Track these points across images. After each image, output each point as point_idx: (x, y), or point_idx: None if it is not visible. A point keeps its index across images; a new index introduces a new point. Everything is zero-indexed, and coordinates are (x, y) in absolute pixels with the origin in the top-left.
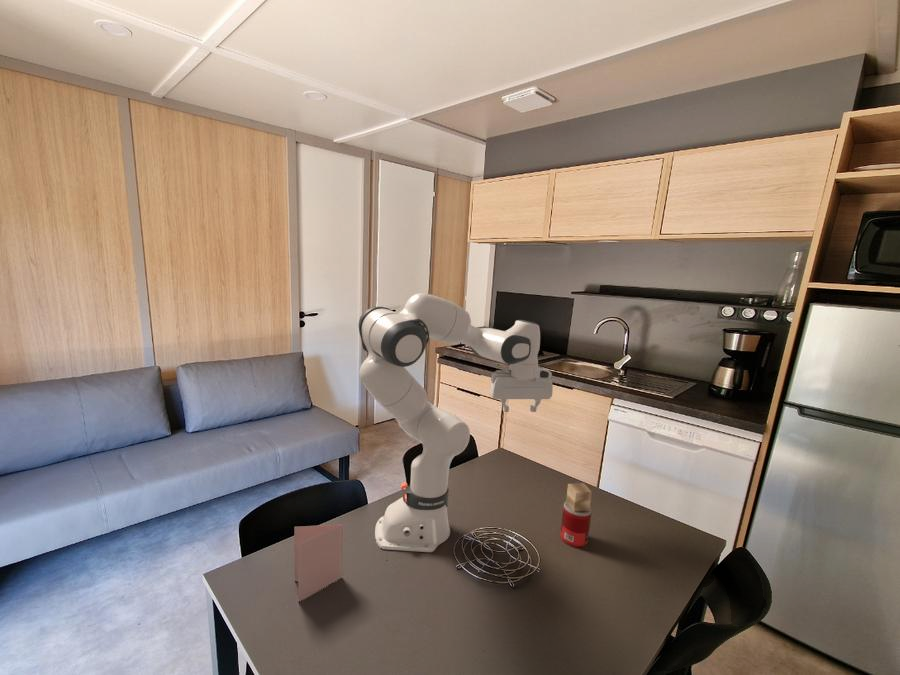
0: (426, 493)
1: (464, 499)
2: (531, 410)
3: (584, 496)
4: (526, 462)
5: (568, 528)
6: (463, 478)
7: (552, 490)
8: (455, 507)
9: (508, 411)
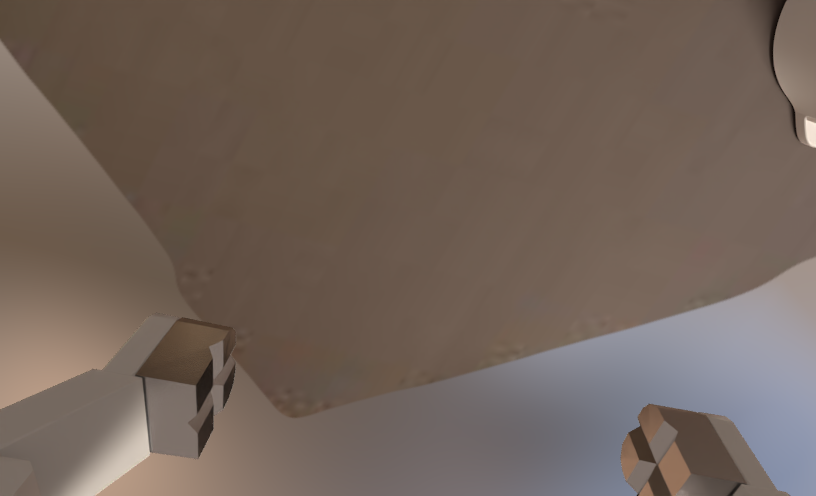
0: None
1: (597, 177)
2: (228, 355)
3: None
4: None
5: None
6: (521, 301)
7: (203, 134)
8: (664, 137)
9: (659, 407)
